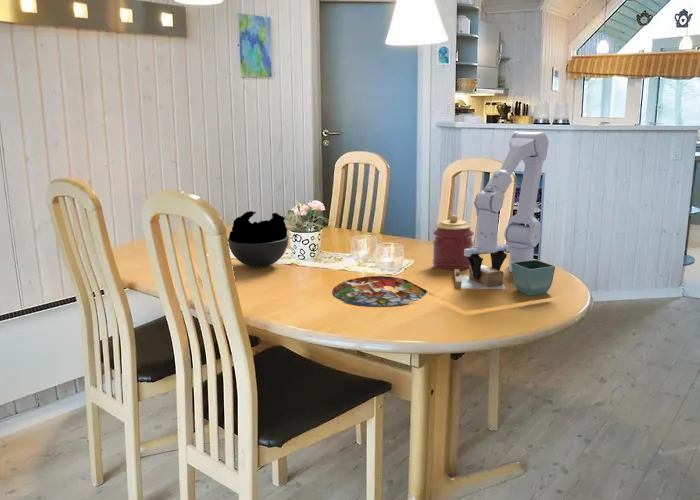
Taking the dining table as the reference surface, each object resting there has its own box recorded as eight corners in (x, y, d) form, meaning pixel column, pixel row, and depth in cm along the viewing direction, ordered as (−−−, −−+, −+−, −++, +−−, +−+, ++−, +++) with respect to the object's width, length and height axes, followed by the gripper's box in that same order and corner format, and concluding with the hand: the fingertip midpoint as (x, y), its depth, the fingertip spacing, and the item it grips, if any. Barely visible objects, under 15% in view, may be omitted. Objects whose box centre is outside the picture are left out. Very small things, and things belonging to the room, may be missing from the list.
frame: (469, 278, 197) (469, 265, 196) (483, 277, 199) (483, 263, 198) (488, 287, 188) (489, 273, 187) (502, 285, 190) (503, 271, 189)
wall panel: (454, 278, 202) (454, 265, 201) (500, 279, 200) (500, 266, 199) (455, 291, 188) (456, 278, 187) (505, 292, 187) (506, 279, 186)
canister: (460, 275, 205) (462, 219, 201) (425, 269, 213) (425, 215, 209) (479, 266, 216) (481, 213, 212) (444, 261, 223) (445, 210, 219)
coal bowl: (218, 266, 220) (214, 211, 215) (267, 256, 233) (265, 204, 228) (250, 278, 205) (248, 219, 201) (301, 266, 218) (299, 211, 214)
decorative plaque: (409, 268, 207) (448, 292, 179) (409, 276, 208) (448, 302, 180) (317, 277, 200) (342, 304, 171) (317, 285, 200) (343, 314, 172)
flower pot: (509, 292, 187) (510, 262, 185) (535, 289, 190) (536, 259, 188) (527, 301, 179) (529, 269, 177) (554, 297, 182) (556, 266, 180)
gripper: (474, 237, 184) (472, 283, 187) (516, 232, 190) (514, 277, 193) (460, 232, 190) (459, 277, 193) (501, 228, 196) (499, 272, 199)
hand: (485, 277), depth 193 cm, fingers open, 6 cm apart
